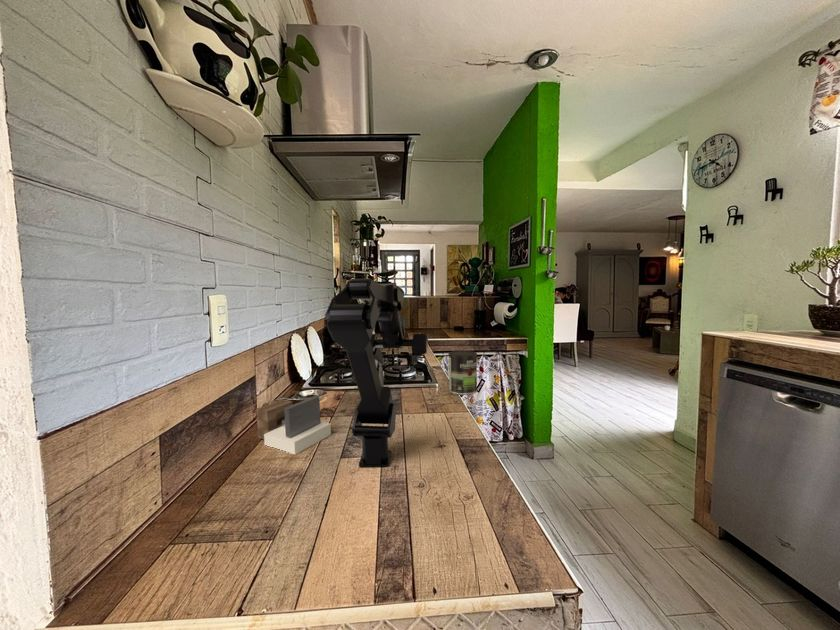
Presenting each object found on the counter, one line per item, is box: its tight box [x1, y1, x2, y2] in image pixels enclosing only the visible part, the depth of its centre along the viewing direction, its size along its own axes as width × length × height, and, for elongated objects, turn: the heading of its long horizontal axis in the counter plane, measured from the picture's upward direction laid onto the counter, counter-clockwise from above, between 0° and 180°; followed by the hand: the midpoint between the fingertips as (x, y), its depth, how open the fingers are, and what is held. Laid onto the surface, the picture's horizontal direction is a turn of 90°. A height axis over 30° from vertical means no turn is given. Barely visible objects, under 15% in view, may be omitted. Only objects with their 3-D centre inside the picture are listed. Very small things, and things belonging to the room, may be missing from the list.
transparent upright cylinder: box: [448, 350, 478, 396], centre depth 126 cm, size 10×10×14 cm
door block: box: [263, 421, 332, 456], centre depth 88 cm, size 10×12×3 cm
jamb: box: [256, 399, 293, 439], centre depth 92 cm, size 4×8×8 cm, turn 152°
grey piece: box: [282, 395, 322, 438], centre depth 88 cm, size 8×10×7 cm
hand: (398, 363), depth 102 cm, fingers open, 9 cm apart
